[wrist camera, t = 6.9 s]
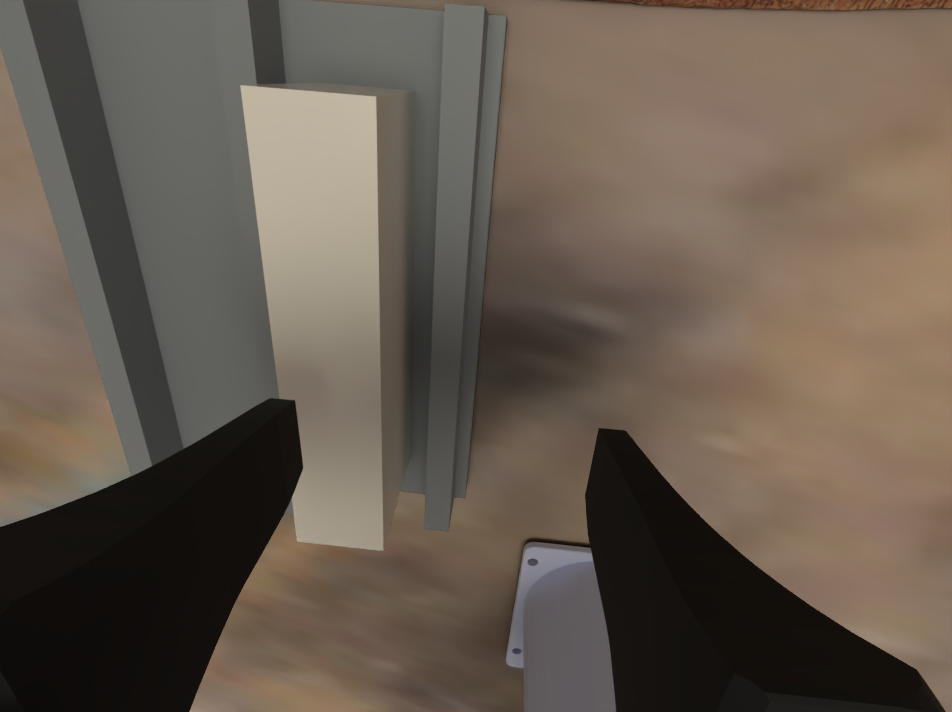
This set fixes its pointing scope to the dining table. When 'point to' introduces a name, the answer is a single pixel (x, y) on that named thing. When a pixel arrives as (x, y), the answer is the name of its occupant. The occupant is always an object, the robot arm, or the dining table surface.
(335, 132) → the clay bar
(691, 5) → the wooden tablet
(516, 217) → the dining table surface
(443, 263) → the grooved grey tray
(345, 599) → the dining table surface
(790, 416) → the dining table surface
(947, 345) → the dining table surface
